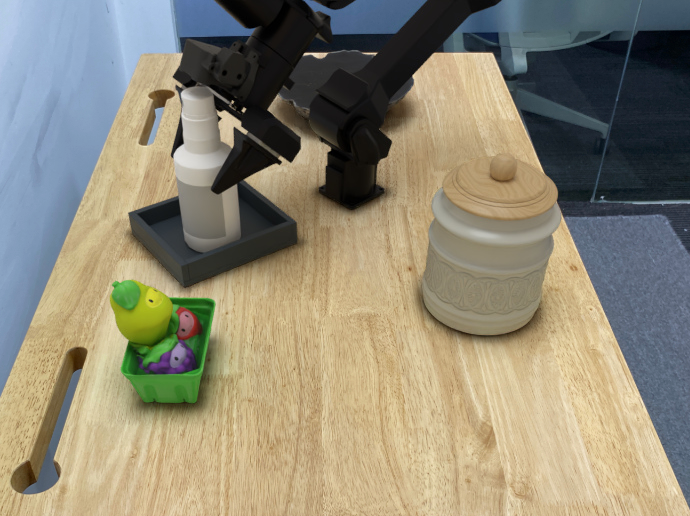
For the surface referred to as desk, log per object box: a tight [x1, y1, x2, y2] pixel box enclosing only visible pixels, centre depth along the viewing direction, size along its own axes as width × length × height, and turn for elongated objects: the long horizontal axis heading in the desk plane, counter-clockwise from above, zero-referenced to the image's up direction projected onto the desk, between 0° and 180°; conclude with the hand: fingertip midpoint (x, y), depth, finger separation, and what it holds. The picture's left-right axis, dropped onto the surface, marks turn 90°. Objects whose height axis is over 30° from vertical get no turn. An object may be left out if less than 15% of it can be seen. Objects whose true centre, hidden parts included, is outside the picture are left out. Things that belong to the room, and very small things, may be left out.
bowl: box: [277, 49, 415, 121], centre depth 118 cm, size 22×22×5 cm
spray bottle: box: [173, 86, 241, 253], centre depth 87 cm, size 7×7×18 cm
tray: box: [127, 179, 298, 288], centre depth 94 cm, size 16×14×3 cm
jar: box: [421, 152, 562, 336], centre depth 80 cm, size 13×13×18 cm
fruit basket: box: [109, 279, 217, 404], centre depth 74 cm, size 11×9×11 cm
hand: (193, 175), depth 86 cm, fingers open, 9 cm apart
